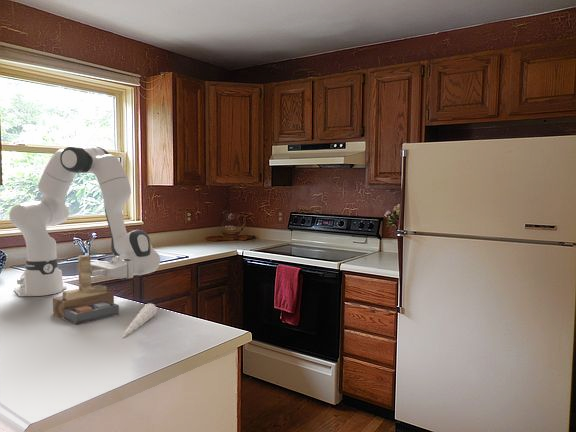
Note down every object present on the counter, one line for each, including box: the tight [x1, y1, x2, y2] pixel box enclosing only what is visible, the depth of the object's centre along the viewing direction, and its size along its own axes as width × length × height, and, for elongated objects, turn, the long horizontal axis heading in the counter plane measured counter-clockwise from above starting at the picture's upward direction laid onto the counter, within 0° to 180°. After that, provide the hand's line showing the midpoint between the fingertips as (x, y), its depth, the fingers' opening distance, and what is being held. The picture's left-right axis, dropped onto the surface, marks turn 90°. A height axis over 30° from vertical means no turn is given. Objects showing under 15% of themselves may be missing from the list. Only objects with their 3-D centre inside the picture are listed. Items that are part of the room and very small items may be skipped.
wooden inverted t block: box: [62, 254, 108, 300], centre depth 160 cm, size 4×14×14 cm, turn 140°
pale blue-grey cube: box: [94, 302, 110, 310], centre depth 156 cm, size 4×4×3 cm
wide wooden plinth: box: [52, 290, 115, 320], centre depth 161 cm, size 9×18×6 cm, turn 140°
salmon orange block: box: [75, 306, 92, 313], centre depth 151 cm, size 4×4×3 cm
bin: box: [64, 301, 120, 326], centre depth 154 cm, size 9×15×4 cm, turn 140°
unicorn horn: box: [121, 303, 158, 339], centre depth 145 cm, size 5×24×5 cm, turn 173°
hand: (85, 272), depth 161 cm, fingers open, 8 cm apart
